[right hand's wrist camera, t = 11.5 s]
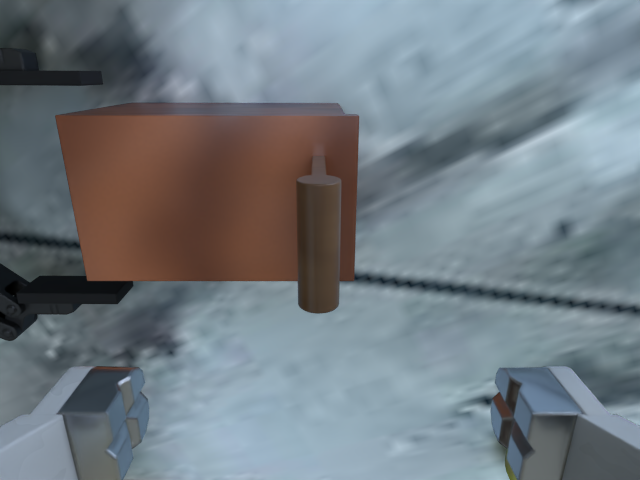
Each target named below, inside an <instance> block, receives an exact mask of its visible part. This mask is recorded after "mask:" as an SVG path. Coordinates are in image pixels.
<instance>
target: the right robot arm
mask: <svg viewBox="0 0 640 480" xmlns="http://www.w3.org/2000/svg"><path fill="white" fill-rule="evenodd" d="M144 384H145V379H144V374H143V370H141V369H140V368H139V367H105V366H96V367H94V366H74V367H72V368H69V369H68V370H67V371H66V372H65V374H64V375H63V376H62V377H61V378H60V379H59V381H58V382H57V383H56V384H55V385H54V386H53V388H52V389H51V390H50V391H49V392H48V393H47V395H46V396H45V397H44V398H43V399H42V401H41V402H40V403H39V404H38V405H37V406H36V408H35V409H34V410H33V411H32V412H31V413H30V415H21V416H19V417H17V418H15V419H13V420H11V421H9V422H7V423H6V424H4V425H2V426H0V480H123V479H124V477H125V475H126V473H127V471H128V469H129V467H130V465H131V462H132V460H133V453H132V449H133V448H134V447H135V446H137V445H138V444H140V443H141V442H142V440H143V437H144V435H145V433H146V430H147V425H148V421H149V404H148V399H147V398H146V397H145V396H144V395H143V394H142V393H141V392H140V391H141V389H142V388H143V386H144ZM495 384H496V386H497V388H498V390H499V391H500V392H499V393H498V394H497V395H496V396H495V397H494V398H493V399H492V405H491V420H492V426H493V430H494V433H495V435H496V437H497V440H498V442H499V443H500V444H502V445H503V446H505V447H506V448H507V449H508V453H507V460H508V463H509V465H510V467H511V469H512V471H513V473H514V475H515V477H516V479H517V480H640V426H638V425H636V424H634V423H632V422H631V421H629V420H627V419H625V418H623V417H621V416H619V415H610V413H609V412H608V411H607V410H606V409H605V408H604V406H603V405H602V404H601V403H600V402H599V401H598V399H597V398H596V397H595V396H594V395H593V394H592V392H591V391H590V390H589V389H588V388H587V387H586V385H585V384H584V383H583V382H582V381H581V380H580V378H579V377H578V376H577V375H576V374H575V373H574V371H573V370H572V369H571V368H569V367H567V366H549V367H523V368H499V369H498V371H497V373H496V379H495Z"/></svg>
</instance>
